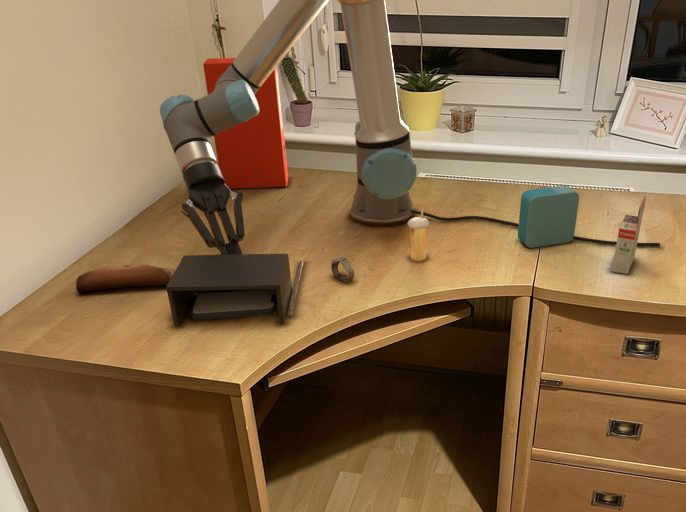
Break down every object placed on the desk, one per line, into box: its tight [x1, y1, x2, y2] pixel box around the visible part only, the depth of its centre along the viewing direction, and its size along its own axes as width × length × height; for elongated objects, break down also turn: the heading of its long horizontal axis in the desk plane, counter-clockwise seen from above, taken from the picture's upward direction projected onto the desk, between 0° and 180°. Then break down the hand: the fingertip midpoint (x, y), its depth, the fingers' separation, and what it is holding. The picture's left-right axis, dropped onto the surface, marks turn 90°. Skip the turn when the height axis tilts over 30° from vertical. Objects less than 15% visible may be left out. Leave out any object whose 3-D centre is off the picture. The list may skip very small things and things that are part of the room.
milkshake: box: [406, 209, 430, 262], centre depth 151 cm, size 5×5×10 cm
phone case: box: [189, 289, 278, 321], centre depth 135 cm, size 9×2×16 cm
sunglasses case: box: [75, 264, 175, 294], centre depth 143 cm, size 18×7×7 cm, turn 99°
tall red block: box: [202, 57, 289, 190], centre depth 185 cm, size 8×17×32 cm, turn 94°
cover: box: [165, 253, 293, 327], centre depth 133 cm, size 20×13×8 cm, turn 91°
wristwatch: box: [330, 255, 356, 283], centre depth 143 cm, size 4×6×5 cm, turn 41°
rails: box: [171, 260, 305, 320], centre depth 141 cm, size 22×23×1 cm
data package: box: [517, 185, 580, 249], centre depth 156 cm, size 12×4×12 cm, turn 107°
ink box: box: [610, 194, 647, 275], centre depth 145 cm, size 4×8×15 cm, turn 156°
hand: (239, 274), depth 140 cm, fingers closed
